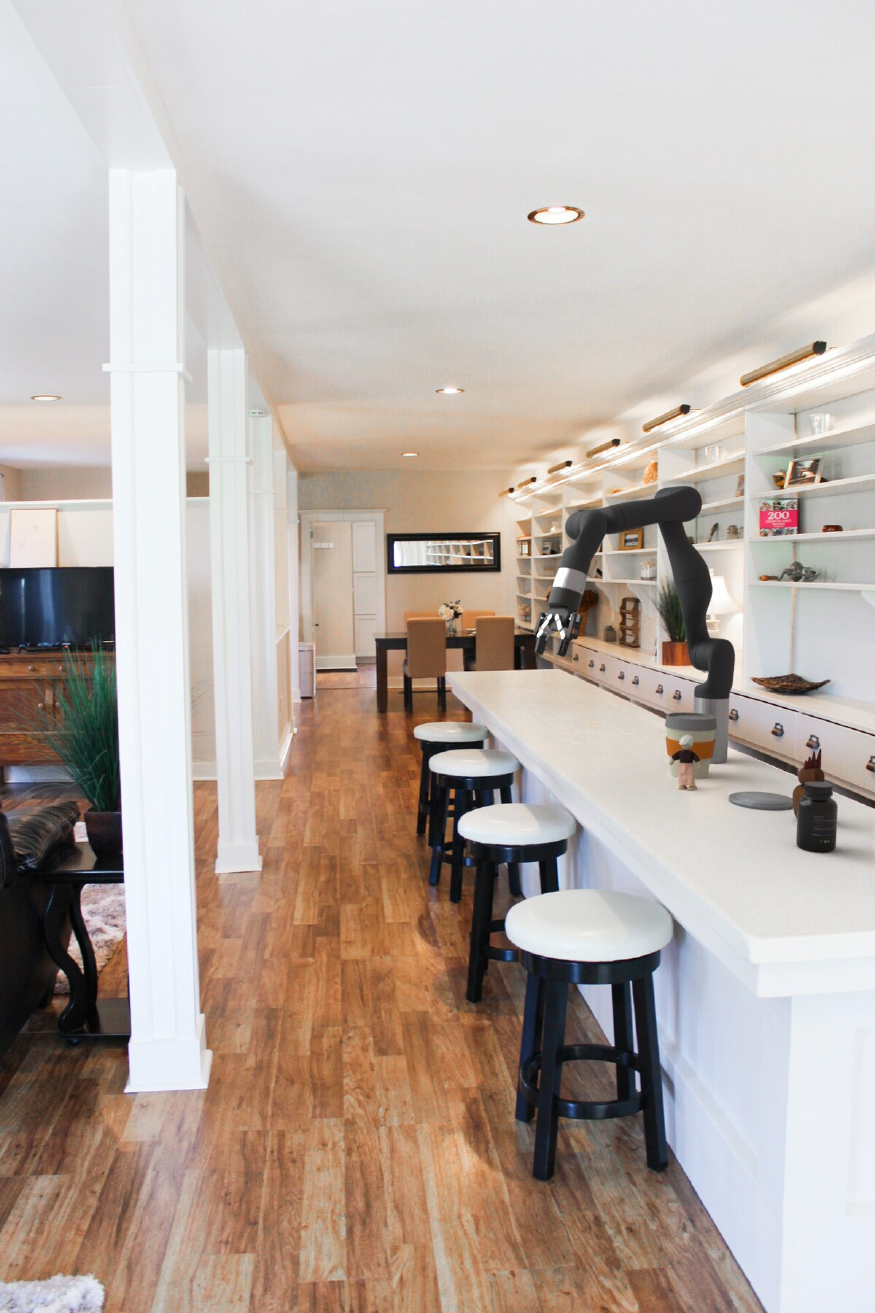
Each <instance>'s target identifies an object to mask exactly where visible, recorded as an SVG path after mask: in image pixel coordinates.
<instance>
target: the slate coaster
mask: <svg viewBox="0 0 875 1313" xmlns="http://www.w3.org/2000/svg"><path fill="white" fill-rule="evenodd" d="M728 801H729V803H731V804H733V805H736V806H739V807H743V808H747V809H753V810H762V811H785V810H791V809H793V801H792V797H790V796H787V795H784V794H781V793H773V792H765V791H764V792H763V791H737V792H733V793H730V794H729V795H728Z"/></svg>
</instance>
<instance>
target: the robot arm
mask: <svg viewBox="0 0 875 1313" xmlns="http://www.w3.org/2000/svg"><path fill="white" fill-rule="evenodd" d="M702 507H703V499H702V495H701V494H700V492H699V491H698V489H696V488H695V487H692V486H689V485H679V486H678V485H677V486H670V487H668V486H667V487H664V488H663V487H662V488H660V489H659V490H658V491H657V492H656V493H655V494H654V497H653V498H649V499H639V500H631V501H625V502H620V503H615V504H611V505H609V506H605V507H602V508H597V509H596V508H594V509H587V510H581V511H577V512H574V513H571V514H570V515H569V516H568V517H567V519H566V521H565V523H564V530H565V533H566V534H567V536H568V538H570V539H571V540H574V541H575V542H574V543H573V544H572V545H570V546H568V547H566V548H564V549H563V550H564V551H563V553H562V555H561V559H560V562H559V565H558V570H557V572H556V574H555V576H554V580H553V584H552V587H551V590H550V593H549V597H548V599H547V600H548V601H547V606H549V610H548V612H543V611H540V612H539V615H538V616H537V620H536V623H535V626H534V630H533V631H532V632H533V633H532V634H533V635H534V636H536V637H537V640H536V644H535V648H534V653H535V654H537V655H539V656H544V653H545V650H546V646H547V642H548V641H547V640H548V639H549V638H550V636H552V635H554V634H555V633H556V632H557V633H558V632H559V633H560V637H561V638H560V640H559V642H558V646H557V651H556V655H557V656H560V657H562V658H565V657H566V656H567V653H568V650H569V646H570V644H571V642H573V640H575V641H576V640H578V637H579V635H580V630H581V626H582V621H583V615H582V614H579V613H578V612H579V610H580V606H581V602H582V601H583V599H582V598H583V595H584V591H585V589H586V585H587V584H586V583H587V579H588V578H587V577H588V574H589V571H590V568H591V564H592V563H591V562H592V559H593V558H594V557H595V555H596V554H597V552H598V550H599V548H600V547H601V544H602V543H603V540H604V539H605V536H606V535H615V534H620V533H624V532H629V531H632V530H635V529H639V528H643V527H647V526H650V525H654V524H657V525H658V528H659V531H660V534H661V536H662V539H663V542H664V546H665V549H666V553H667V556H668V561H669V564H670V567H671V572H672V577H673V582H674V587H675V589H676V593H677V597H678V601H679V606H680V609H681V614H682V619H683V626H684V630H685V631H684V632H685V640H686V648H687V653H688V659H689V662H690V664H691V666H692V667H693V668H695V669H696V670H698V671H702V672H707V678H706V680H705V681H704V682H702V683H700V684H696V686H694V689H693V713H702V714H709V715H713V716H716V723H717V729H715V735H714V739H715V746H714V752H713V757H712V758H711V759H710V764H719V763H720V764H721V763H726V762H728V750H729V746H728V745H729V724H730V721H729V720H730V719H729V718H730V697H731V696H730V694H731V692H732V691H731V690H732V689H733V684H734V674H735V664H736V663H735V662H736V653H735V647H734V645H733V642H731V641H730V640H729V639H726V638H720V637H719V638H718V637H711V636H710V633H709V630H708V625H707V614H708V613H707V612H708V609H709V607H710V603H711V601H712V596H713V591H714V590H713V587H714V586H713V583H712V579H711V575H710V570H709V567H708V564H707V562H706V560H705V559H704V558H703V555H701V554H700V552H699V551H698V549H696V547H695V546H694V545H693V544H692V542H691V541H690V538H688V534H687V533H686V530H685V526H684V523H687V522H691V521H693V520H694V519H696V518H697V517H698V516H699V514H700V513H701V510H702V509H703V508H702ZM540 628H541V629H540Z"/></svg>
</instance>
